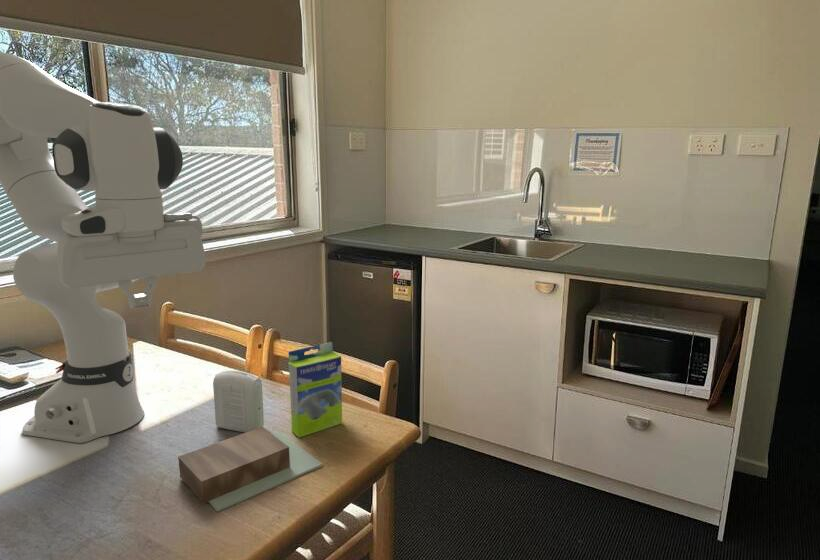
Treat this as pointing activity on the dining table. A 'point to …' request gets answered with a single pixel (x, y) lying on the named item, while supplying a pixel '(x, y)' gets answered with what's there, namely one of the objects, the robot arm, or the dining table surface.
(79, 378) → the robot arm
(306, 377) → the box
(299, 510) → the dining table surface
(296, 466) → the mat
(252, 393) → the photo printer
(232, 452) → the walnut block
